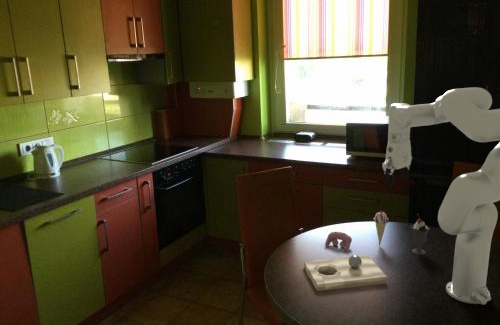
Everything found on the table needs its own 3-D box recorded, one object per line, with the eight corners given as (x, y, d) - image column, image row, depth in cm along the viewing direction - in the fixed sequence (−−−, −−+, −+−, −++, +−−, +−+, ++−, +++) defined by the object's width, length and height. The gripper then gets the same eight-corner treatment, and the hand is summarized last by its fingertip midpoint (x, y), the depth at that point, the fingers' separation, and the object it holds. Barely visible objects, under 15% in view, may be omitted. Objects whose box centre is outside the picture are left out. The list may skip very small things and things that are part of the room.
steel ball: (363, 270, 151) (364, 258, 150) (351, 271, 151) (351, 259, 149) (358, 263, 156) (358, 252, 154) (346, 265, 155) (346, 253, 154)
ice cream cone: (389, 245, 174) (391, 210, 171) (383, 250, 170) (384, 214, 167) (376, 241, 178) (378, 207, 175) (369, 246, 174) (371, 211, 170)
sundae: (412, 246, 173) (415, 210, 169) (430, 251, 169) (433, 214, 165) (406, 252, 168) (408, 216, 164) (424, 257, 164) (427, 220, 160)
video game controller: (350, 252, 173) (354, 234, 174) (347, 251, 169) (350, 233, 170) (327, 247, 178) (330, 230, 179) (323, 246, 175) (326, 229, 176)
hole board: (386, 283, 147) (386, 276, 146) (317, 291, 144) (317, 284, 143) (367, 261, 162) (367, 255, 162) (304, 267, 159) (304, 261, 158)
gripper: (393, 142, 154) (391, 188, 158) (421, 135, 164) (418, 179, 168) (375, 139, 160) (374, 184, 164) (403, 132, 170) (401, 175, 174)
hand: (396, 181), depth 166 cm, fingers open, 9 cm apart
